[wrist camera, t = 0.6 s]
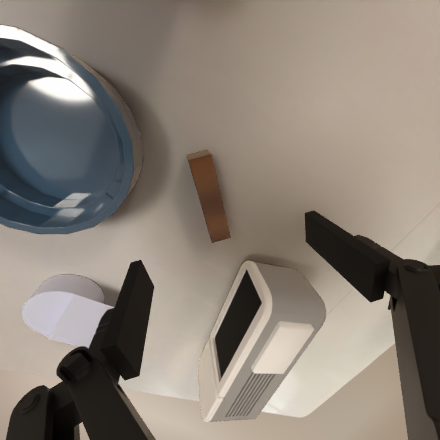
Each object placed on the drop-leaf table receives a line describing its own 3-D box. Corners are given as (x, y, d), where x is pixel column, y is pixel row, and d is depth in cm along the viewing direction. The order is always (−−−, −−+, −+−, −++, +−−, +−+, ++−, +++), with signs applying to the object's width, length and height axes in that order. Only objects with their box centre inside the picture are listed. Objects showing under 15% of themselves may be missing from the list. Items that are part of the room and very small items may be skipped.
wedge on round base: (138, 297, 34) (51, 265, 29) (129, 334, 28) (17, 302, 23) (112, 331, 36) (27, 307, 31) (99, 373, 30) (-9, 351, 25)
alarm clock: (243, 250, 33) (273, 309, 23) (291, 259, 36) (337, 316, 25) (196, 358, 43) (201, 434, 32) (236, 359, 46) (253, 430, 35)
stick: (186, 154, 26) (188, 159, 22) (207, 149, 26) (211, 153, 22) (208, 229, 31) (212, 243, 27) (225, 224, 31) (231, 237, 27)
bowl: (-77, 71, 19) (-180, 51, 13) (103, 31, 20) (75, -3, 14) (35, 226, 26) (-2, 253, 21) (163, 192, 27) (158, 209, 22)
